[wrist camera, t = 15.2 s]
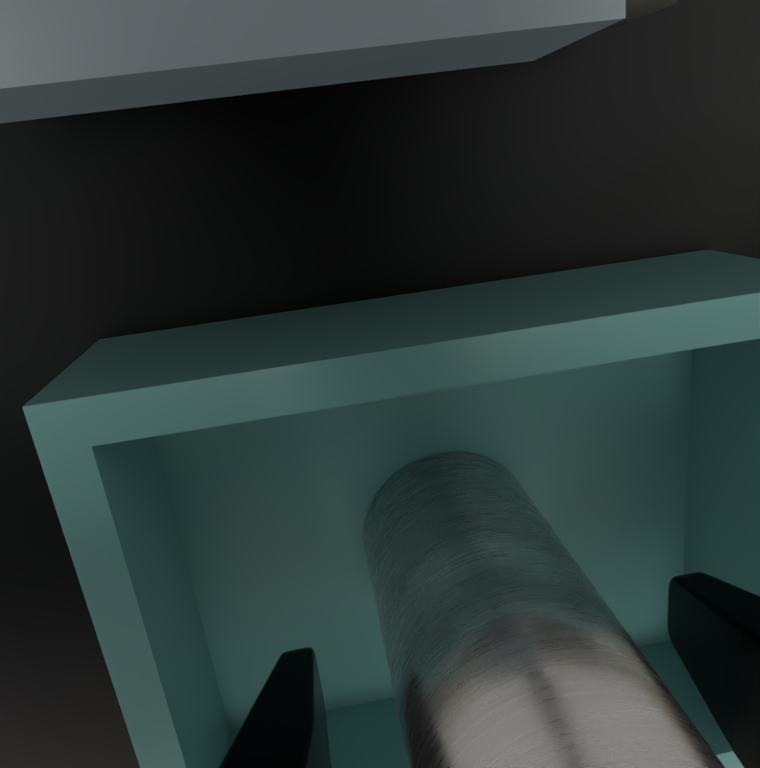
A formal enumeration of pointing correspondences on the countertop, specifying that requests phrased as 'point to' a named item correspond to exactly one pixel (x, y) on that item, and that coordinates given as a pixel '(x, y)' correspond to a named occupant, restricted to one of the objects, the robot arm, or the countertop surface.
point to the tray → (384, 459)
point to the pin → (507, 634)
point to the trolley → (265, 45)
